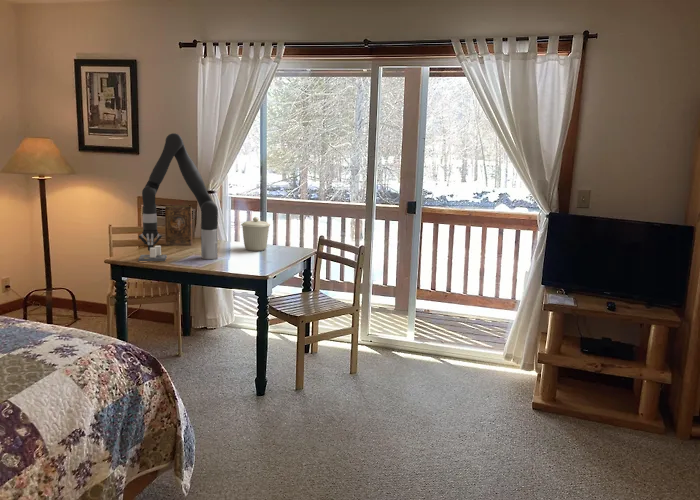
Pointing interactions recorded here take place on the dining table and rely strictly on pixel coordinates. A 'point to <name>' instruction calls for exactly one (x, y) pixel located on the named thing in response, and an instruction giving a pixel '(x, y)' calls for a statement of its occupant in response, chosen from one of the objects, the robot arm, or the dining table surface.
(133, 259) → the dining table surface
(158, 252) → the tab
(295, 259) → the dining table surface
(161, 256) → the switch board
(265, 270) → the dining table surface
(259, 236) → the canister
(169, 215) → the book
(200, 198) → the robot arm
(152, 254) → the tab
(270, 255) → the dining table surface
